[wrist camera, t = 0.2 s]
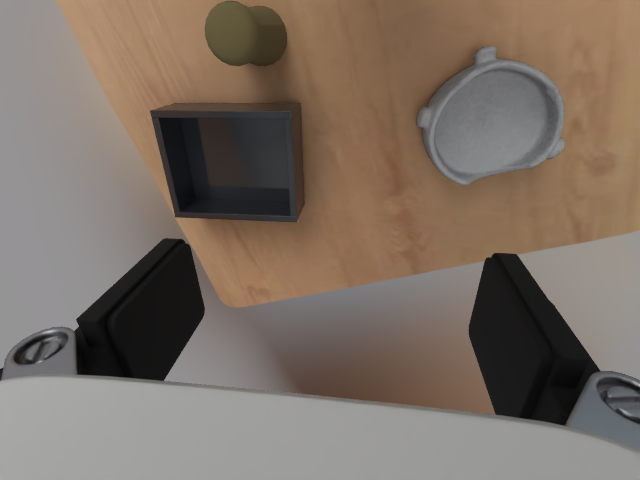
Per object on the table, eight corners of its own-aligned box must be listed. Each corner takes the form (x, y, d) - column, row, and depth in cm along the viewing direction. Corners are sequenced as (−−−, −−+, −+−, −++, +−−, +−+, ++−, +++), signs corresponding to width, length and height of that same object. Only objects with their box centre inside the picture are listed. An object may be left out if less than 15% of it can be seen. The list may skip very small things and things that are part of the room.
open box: (175, 103, 45) (149, 110, 40) (300, 103, 43) (290, 110, 38) (194, 200, 52) (175, 217, 47) (304, 204, 50) (296, 222, 45)
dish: (564, 134, 41) (587, 144, 37) (454, 196, 47) (463, 212, 42) (511, 20, 37) (530, 17, 32) (397, 104, 42) (400, 111, 38)
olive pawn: (241, 68, 42) (204, 74, 33) (230, 9, 39) (186, -3, 30) (290, 63, 41) (266, 68, 32) (282, 2, 38) (253, -13, 29)
